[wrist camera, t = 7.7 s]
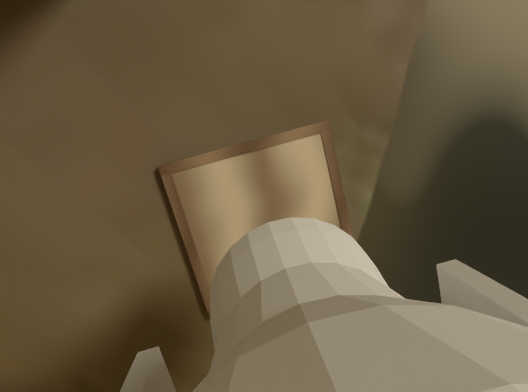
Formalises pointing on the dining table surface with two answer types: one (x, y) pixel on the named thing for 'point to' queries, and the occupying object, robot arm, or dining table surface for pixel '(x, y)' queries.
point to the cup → (344, 324)
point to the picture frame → (253, 192)
